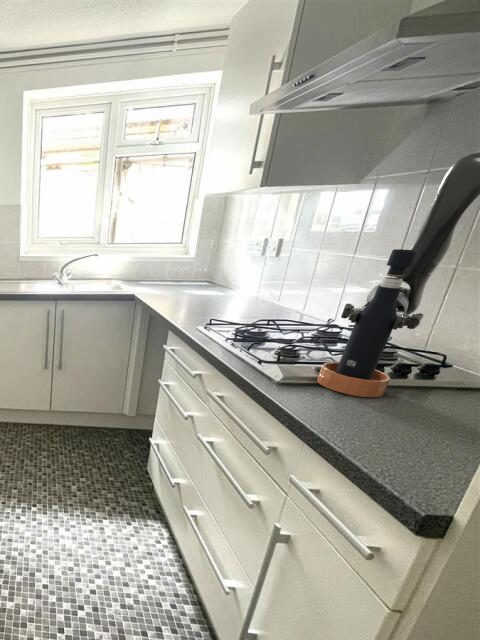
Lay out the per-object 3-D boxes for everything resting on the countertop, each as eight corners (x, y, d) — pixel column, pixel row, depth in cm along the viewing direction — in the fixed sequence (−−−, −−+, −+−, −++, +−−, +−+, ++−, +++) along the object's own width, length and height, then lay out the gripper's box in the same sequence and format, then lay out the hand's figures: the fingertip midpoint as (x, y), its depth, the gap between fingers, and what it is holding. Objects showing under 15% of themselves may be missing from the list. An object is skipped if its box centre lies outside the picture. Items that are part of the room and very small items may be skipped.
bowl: (339, 376, 108) (345, 360, 106) (395, 395, 97) (403, 378, 95) (304, 381, 104) (310, 364, 102) (358, 402, 94) (366, 383, 92)
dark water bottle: (364, 378, 101) (420, 249, 89) (371, 387, 96) (431, 252, 84) (331, 373, 104) (381, 247, 92) (336, 382, 99) (389, 250, 87)
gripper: (353, 289, 106) (339, 299, 96) (433, 299, 96) (428, 311, 86) (342, 318, 109) (328, 330, 99) (418, 330, 99) (412, 345, 89)
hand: (374, 321), depth 92 cm, fingers closed on dark water bottle, 6 cm apart
